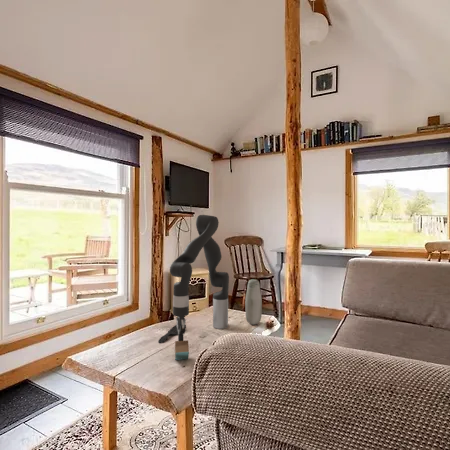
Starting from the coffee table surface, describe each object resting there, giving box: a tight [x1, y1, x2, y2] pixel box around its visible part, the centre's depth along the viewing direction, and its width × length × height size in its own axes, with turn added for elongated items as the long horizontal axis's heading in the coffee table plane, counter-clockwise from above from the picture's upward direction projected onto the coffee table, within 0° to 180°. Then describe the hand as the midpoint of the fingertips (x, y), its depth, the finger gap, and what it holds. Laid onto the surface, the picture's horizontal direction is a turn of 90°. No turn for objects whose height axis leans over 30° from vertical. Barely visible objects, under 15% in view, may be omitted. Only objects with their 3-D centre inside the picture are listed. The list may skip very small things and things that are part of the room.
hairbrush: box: [158, 323, 178, 344], centre depth 179 cm, size 8×4×25 cm
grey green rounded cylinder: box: [244, 278, 263, 326], centre depth 199 cm, size 10×10×28 cm
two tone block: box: [174, 340, 190, 361], centre depth 148 cm, size 6×6×6 cm
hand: (180, 341), depth 149 cm, fingers closed
